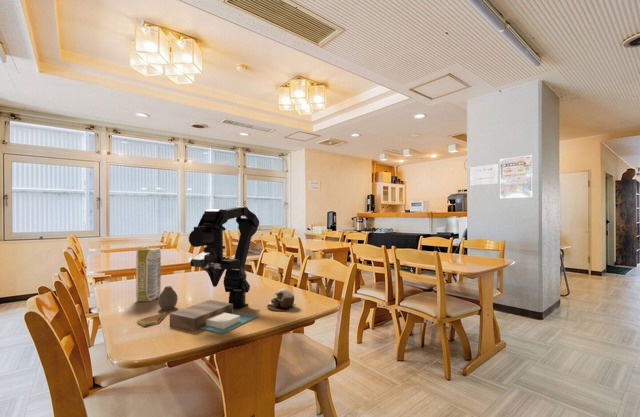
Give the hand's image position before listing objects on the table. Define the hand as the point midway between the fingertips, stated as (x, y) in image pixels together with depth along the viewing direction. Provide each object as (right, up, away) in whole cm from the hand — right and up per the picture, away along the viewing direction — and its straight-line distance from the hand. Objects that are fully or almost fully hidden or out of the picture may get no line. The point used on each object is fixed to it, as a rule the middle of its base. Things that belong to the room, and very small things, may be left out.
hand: (215, 286), depth 109 cm
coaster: (+5, -11, -5) cm, 13 cm away
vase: (-24, -12, +13) cm, 29 cm away
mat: (+7, -12, -4) cm, 14 cm away
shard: (-23, -13, -1) cm, 26 cm away
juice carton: (-39, -13, +26) cm, 49 cm away
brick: (-4, -12, 0) cm, 13 cm away
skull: (+23, -12, +14) cm, 29 cm away
